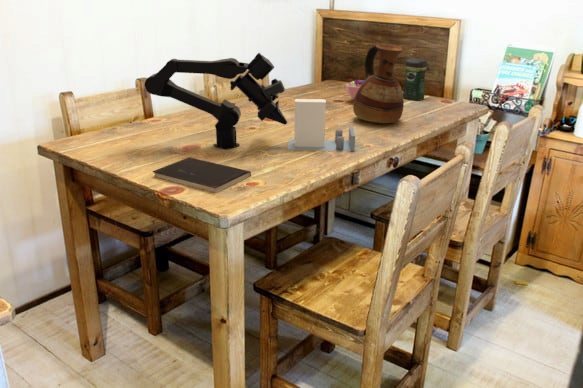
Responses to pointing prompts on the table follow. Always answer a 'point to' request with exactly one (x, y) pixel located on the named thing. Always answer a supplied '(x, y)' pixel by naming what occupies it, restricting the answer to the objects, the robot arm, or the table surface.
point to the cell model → (353, 87)
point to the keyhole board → (331, 143)
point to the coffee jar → (414, 79)
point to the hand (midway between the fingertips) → (286, 123)
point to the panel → (309, 122)
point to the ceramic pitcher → (380, 88)
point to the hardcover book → (202, 174)
